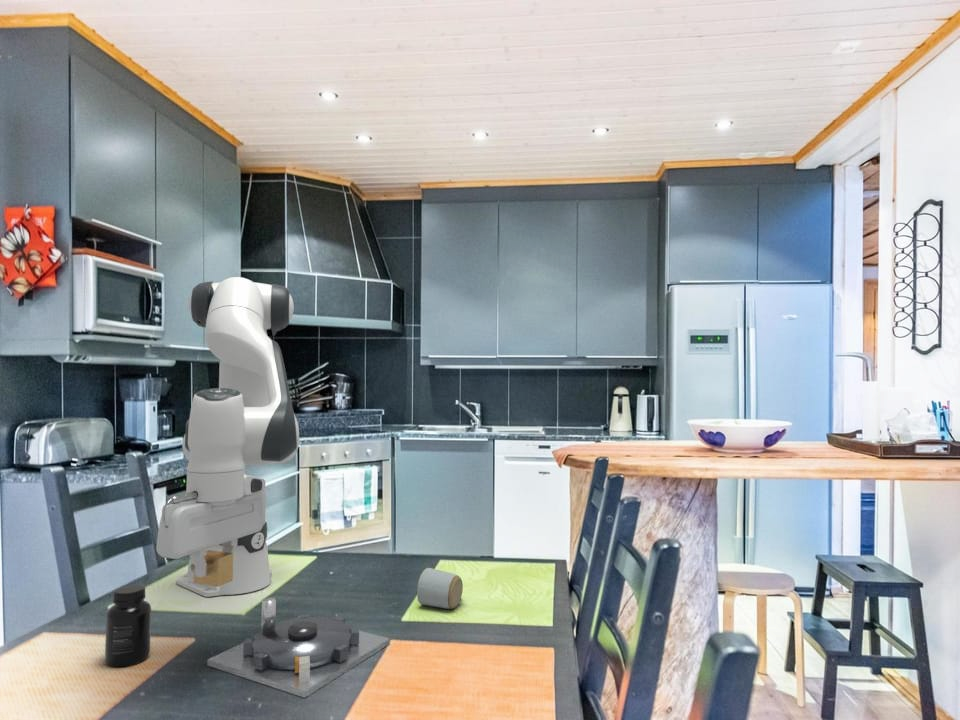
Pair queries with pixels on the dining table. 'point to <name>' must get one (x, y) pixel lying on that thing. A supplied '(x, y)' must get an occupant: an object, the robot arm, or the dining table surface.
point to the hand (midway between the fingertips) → (213, 571)
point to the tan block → (217, 569)
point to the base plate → (289, 675)
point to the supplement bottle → (128, 627)
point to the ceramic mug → (439, 589)
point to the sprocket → (298, 640)
